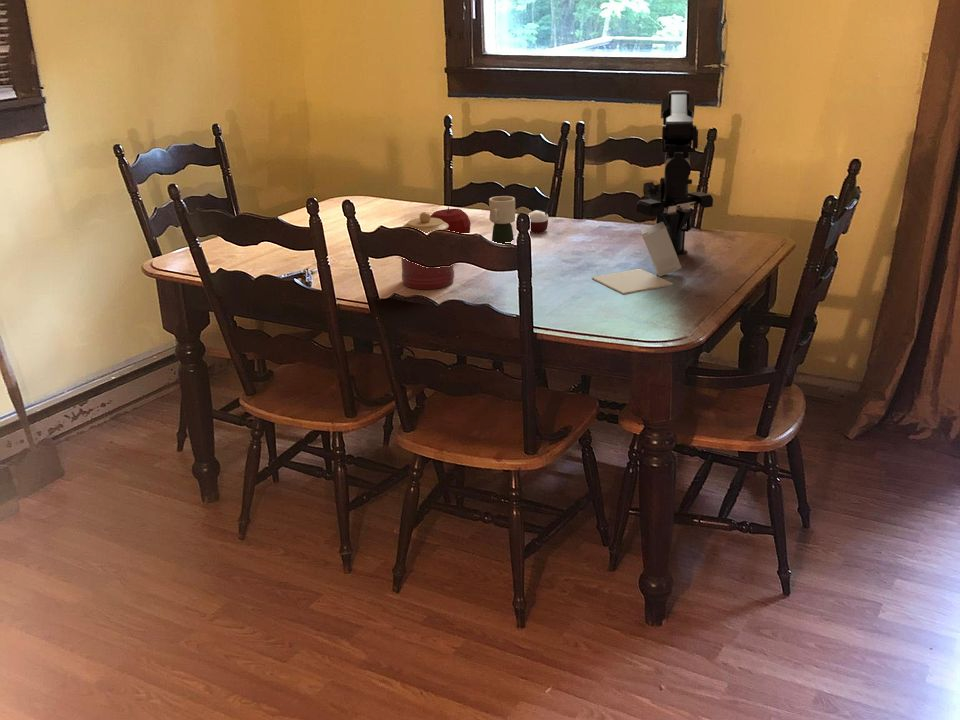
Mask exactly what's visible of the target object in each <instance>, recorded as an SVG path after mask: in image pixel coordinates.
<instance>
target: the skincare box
mask: <svg viewBox="0 0 960 720" xmlns="http://www.w3.org/2000/svg"><path fill="white" fill-rule="evenodd" d="M640 234H641V236H642V239H643V241H644V244H645V245H646V249H647V251H648V254H649V256H650V259H651V261H652V263H653V264H652V265H653V266H654V269H655V271H656V274H657V277H660V278H661V276H665V275H667V274H670V273H673V272H675V271H678V270H680V269H682V265H681V263H680V260H679V257H678V255H677V254H676V252H675V249H674V246H673V244H672V241H671V239H670V237H669V234H668V232H667V229H666V227H665V224H664V222H660V223H658V224H656V223H655V224H652V225H651V226H648V227H645V228H642V229H640Z"/></svg>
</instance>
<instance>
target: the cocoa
mask: <svg viewBox="0 0 960 720" xmlns="http://www.w3.org/2000/svg"><path fill="white" fill-rule="evenodd" d="M554 194H555V189H553V191H552V193H551V195H550V198H549V201H548V203H547V206H546V209H545V211H542V210H537V209H536V210H533V211H532V212H529V213H528V214H529V215H530V219H531V232H530V233H532V234H543V233H544V232H546V231H547V230H548V225H549V215H548V210H549V208H550V205H551V203H552V201H553V198H554Z"/></svg>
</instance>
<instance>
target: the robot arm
mask: <svg viewBox="0 0 960 720" xmlns="http://www.w3.org/2000/svg"><path fill="white" fill-rule="evenodd" d="M695 102H696V99H695V97H692V96H691V95H690V91H687V90H671V91H669V92H668V95H667V96H665V97H663V98H662V99H661V102H660V107H661V108H660V119H662V121H663V123H662V130H661V131H662V132H661V153H663V154H665V155H664V173H663V176H664V177H660V179H659V183H658V184H655V183H654V182H653V181H649V182H645V183H643V189H642V193H643V195H644V197H649V198H647V199H646V198H645V199H640V200H638V202H637V204H636V213H639V214H642V215H645V216H647V217H654V216H656V218H655V219H656V221H655V224H658V223H660V222H664V224H665V227H666V229H667V232H668V234H669V237H670V239H671V241H672V244H673V246H674V249H675V252H676V254H677V256H678V255H683V254H688V251H689V250H686V249H685V239H686V237H685V236H686V232H688V233H689V231H691V230H692V217H693V214H694V213H695V212H694V210H693V209H691V206H694V205H700V206H701V208H702V209H705V208H712V207H713V206H714V198H713V195H712V194H709V193H706V192H703V191H695V192H689V185H692V184H693V179H692V178H690V175H691V171H692V169H691V162H690V160H691V153H692V154H693V153H694V154H695V153H696V149H698V148H699V147H698V146H699V130H698V129H697V125H696V124H694V121H693V120H694V117H695V109H696V107H695V105H696V103H695ZM656 199H657V200H656Z"/></svg>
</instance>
